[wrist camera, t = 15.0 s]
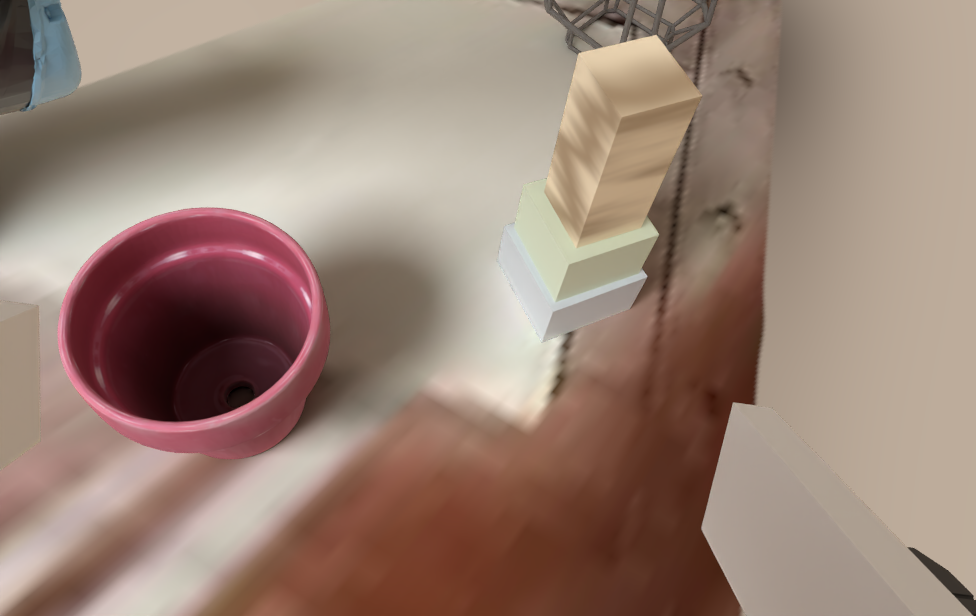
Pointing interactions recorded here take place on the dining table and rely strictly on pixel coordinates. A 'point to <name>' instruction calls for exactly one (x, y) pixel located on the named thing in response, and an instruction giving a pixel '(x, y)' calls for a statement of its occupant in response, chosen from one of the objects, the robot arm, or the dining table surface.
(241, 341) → the plant pot
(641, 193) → the pillar
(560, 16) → the geometric lantern
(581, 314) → the tower base
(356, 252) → the dining table surface
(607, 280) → the tower top
